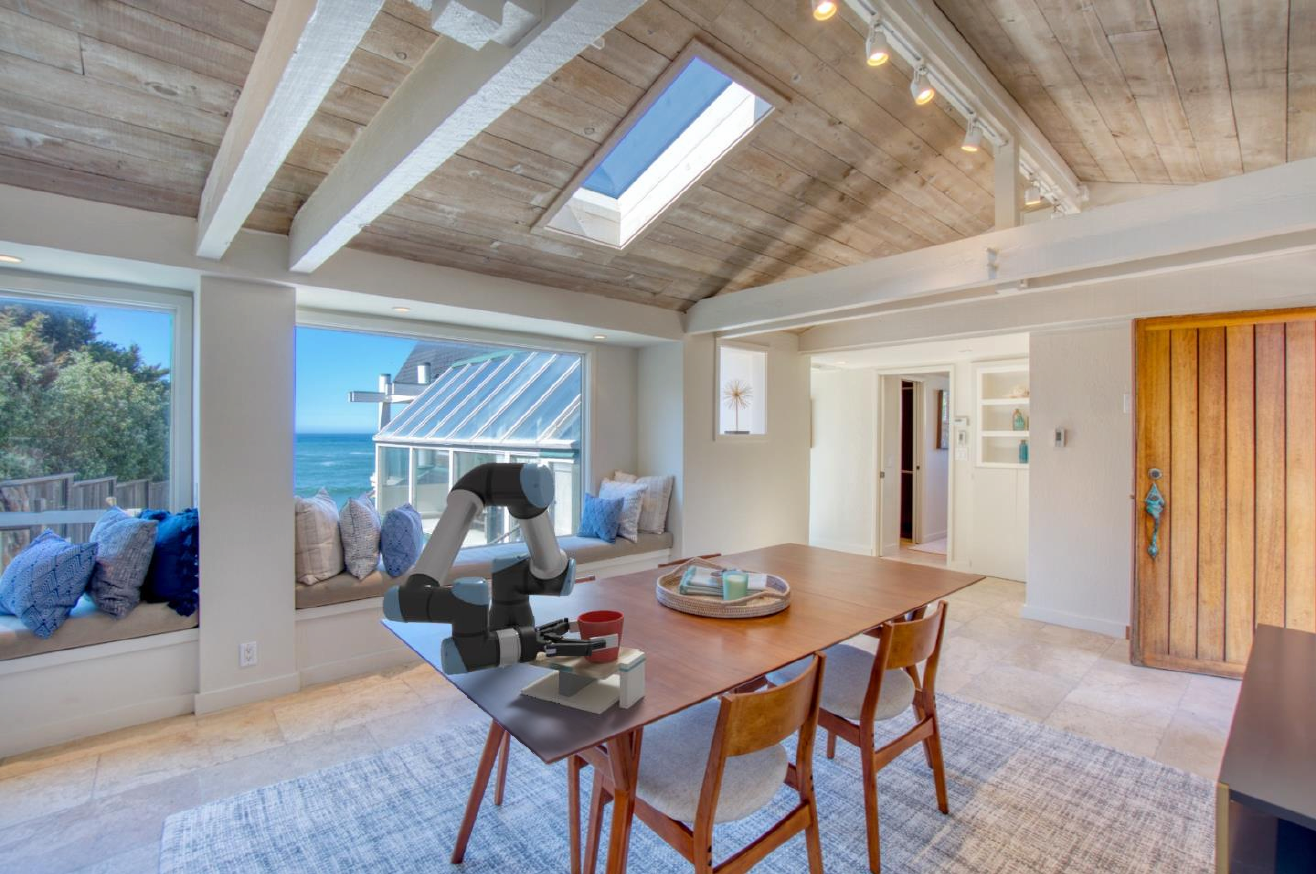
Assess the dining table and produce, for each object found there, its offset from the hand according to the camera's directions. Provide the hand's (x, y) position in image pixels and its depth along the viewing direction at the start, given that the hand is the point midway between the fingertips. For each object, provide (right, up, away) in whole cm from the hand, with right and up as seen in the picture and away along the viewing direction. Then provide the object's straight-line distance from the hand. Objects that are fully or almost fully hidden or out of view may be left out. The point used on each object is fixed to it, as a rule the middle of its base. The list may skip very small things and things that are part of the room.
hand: (606, 631), depth 141 cm
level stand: (-4, -15, +1) cm, 15 cm away
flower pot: (-1, -6, -1) cm, 6 cm away
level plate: (-6, -7, +2) cm, 10 cm away
